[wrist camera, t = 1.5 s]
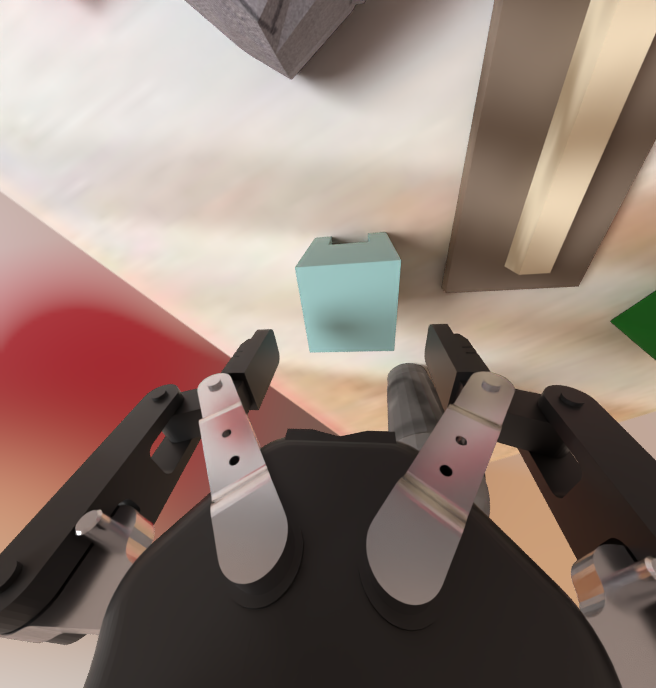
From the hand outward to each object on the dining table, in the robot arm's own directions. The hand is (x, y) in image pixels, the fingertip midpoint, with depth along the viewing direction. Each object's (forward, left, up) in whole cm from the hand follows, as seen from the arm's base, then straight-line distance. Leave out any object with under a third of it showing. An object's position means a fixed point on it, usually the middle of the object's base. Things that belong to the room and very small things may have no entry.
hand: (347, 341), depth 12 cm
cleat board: (-8, +13, -11) cm, 19 cm away
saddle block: (0, 0, -11) cm, 11 cm away
